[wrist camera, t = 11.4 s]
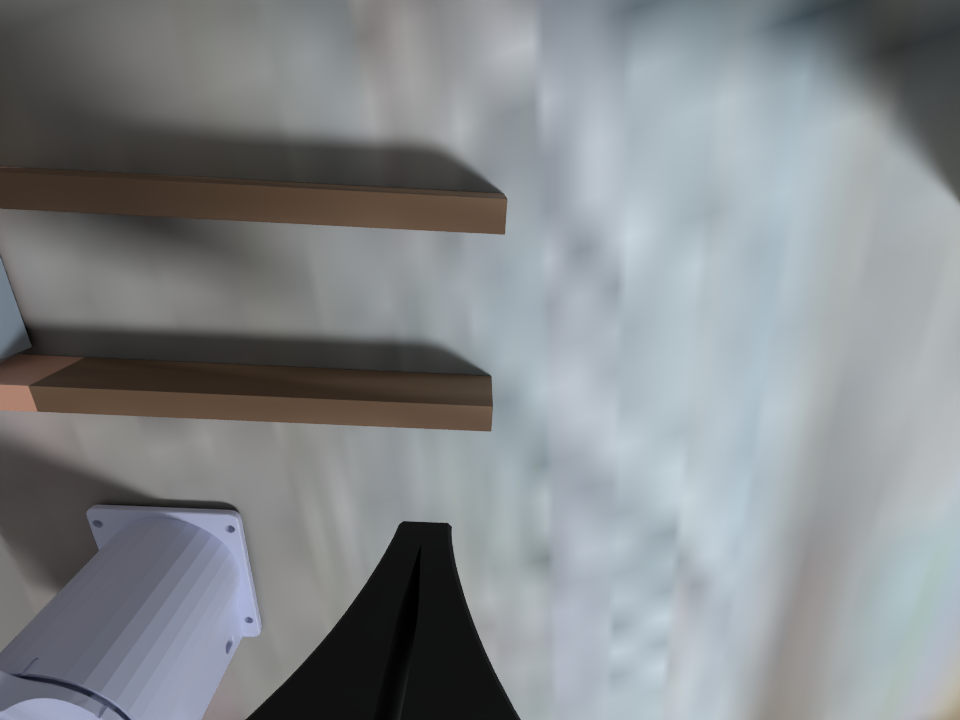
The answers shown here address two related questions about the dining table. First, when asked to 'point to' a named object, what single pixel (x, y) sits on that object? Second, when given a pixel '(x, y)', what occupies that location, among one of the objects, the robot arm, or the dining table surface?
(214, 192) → the brown wooden rails
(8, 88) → the dining table surface
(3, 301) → the block
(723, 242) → the dining table surface
